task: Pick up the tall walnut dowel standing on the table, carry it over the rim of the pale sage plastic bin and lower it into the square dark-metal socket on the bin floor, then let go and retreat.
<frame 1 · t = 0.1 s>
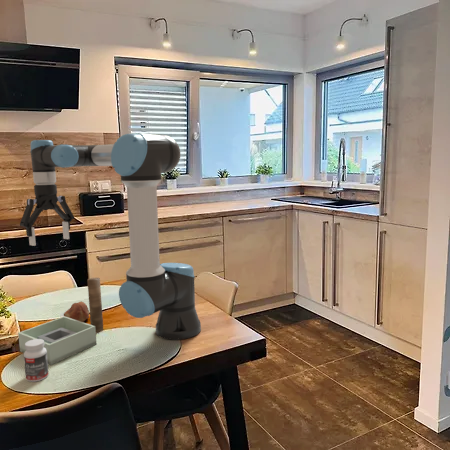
hand: (50, 242, 156), 28 cm above the table, fingers open, 13 cm apart
pill bottle: (37, 377, 115), on the table
bin: (58, 347, 133), on the table
peg: (97, 330, 146), on the table
fossil: (77, 322, 154), on the table
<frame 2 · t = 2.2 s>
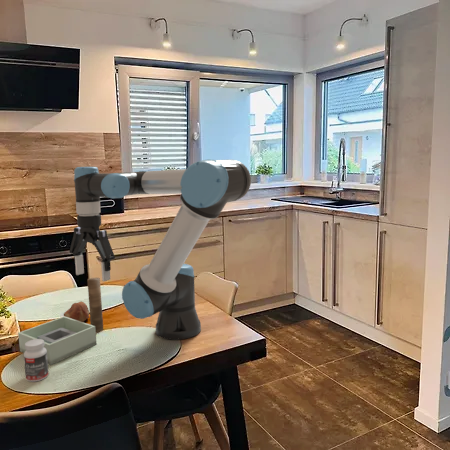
hand: (92, 277, 143), 19 cm above the table, fingers open, 13 cm apart
nothing on the table moved.
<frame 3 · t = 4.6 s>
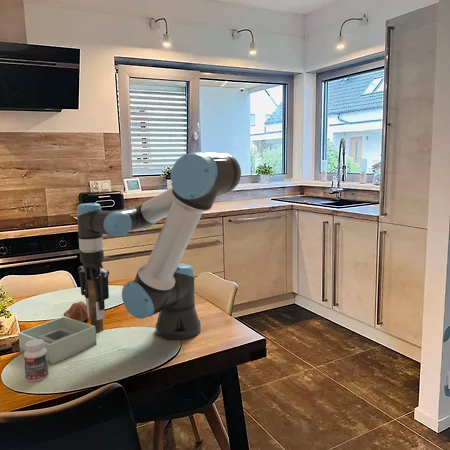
hand: (96, 317, 145), 5 cm above the table, fingers closed on peg, 4 cm apart
peg: (97, 330, 146), on the table, touching gripper
everything else where it was.
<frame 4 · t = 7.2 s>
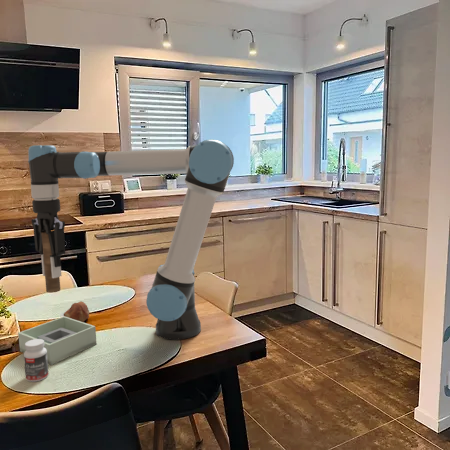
hand: (52, 275, 129), 23 cm above the table, fingers closed on peg, 4 cm apart
peg: (53, 290, 130), point 18 cm above the table, touching gripper
everything else where it was.
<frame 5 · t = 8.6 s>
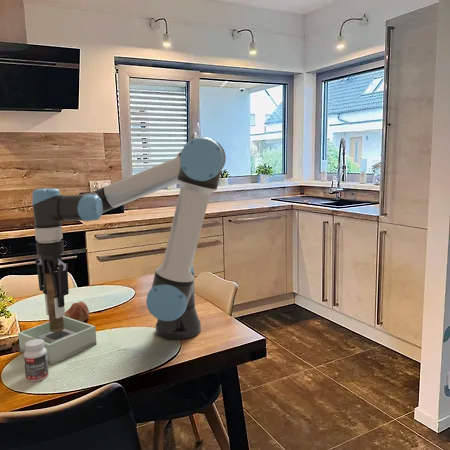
hand: (55, 315, 131), 11 cm above the table, fingers closed on peg, 4 cm apart
peg: (57, 329, 132), point 6 cm above the table, touching gripper
everything else where it was.
when the fingers open (6 cm above the table, at t = 9.7 s): peg stays where it is, resting on bin.
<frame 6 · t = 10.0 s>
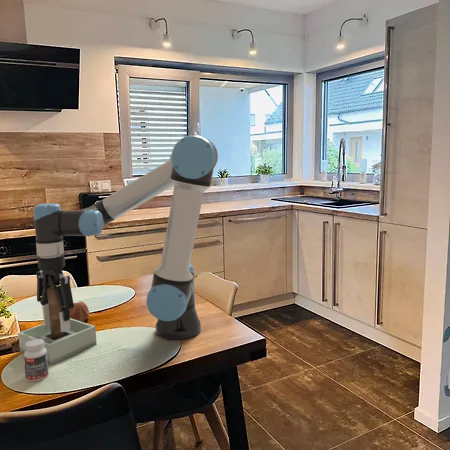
hand: (57, 327, 132), 7 cm above the table, fingers open, 8 cm apart
peg: (58, 344, 133), point 1 cm above the table, touching bin
everything else where it was.
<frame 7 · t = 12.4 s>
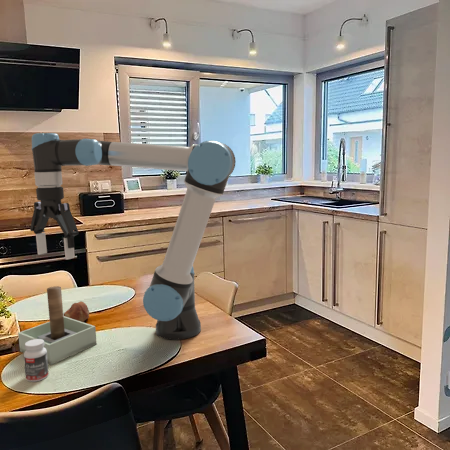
hand: (55, 256, 130), 29 cm above the table, fingers open, 13 cm apart
nothing on the table moved.
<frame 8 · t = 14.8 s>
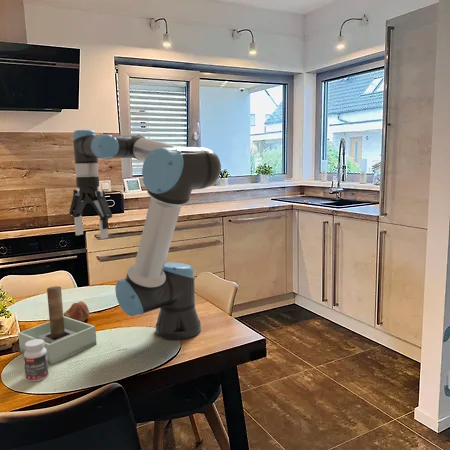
hand: (91, 236, 151), 31 cm above the table, fingers open, 13 cm apart
nothing on the table moved.
at the end: peg 0.0 cm off-centre on the bin, point 1.2 cm above the bin's base; peg tilted 0°; the gripper is holding nothing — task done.
